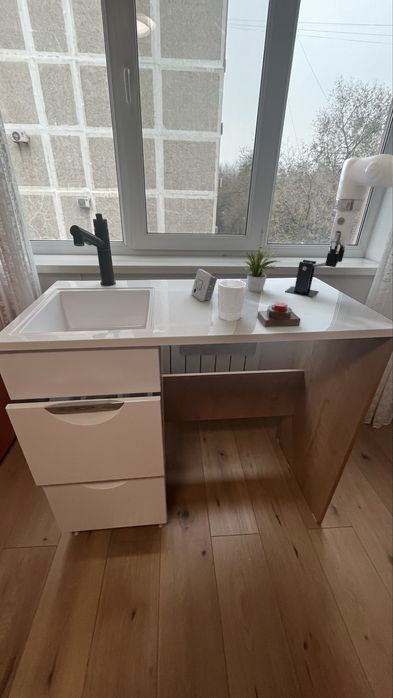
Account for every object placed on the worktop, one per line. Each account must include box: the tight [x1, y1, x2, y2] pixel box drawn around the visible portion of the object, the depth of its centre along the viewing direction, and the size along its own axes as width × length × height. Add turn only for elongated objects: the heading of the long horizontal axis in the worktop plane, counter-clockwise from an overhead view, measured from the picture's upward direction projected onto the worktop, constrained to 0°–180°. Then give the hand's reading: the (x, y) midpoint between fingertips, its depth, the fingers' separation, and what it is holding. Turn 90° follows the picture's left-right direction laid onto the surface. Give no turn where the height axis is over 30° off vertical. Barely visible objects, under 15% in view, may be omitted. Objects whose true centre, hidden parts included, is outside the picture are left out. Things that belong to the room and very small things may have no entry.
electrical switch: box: [191, 268, 218, 303], centre depth 98 cm, size 9×5×9 cm, turn 22°
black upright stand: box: [284, 259, 319, 298], centre depth 102 cm, size 10×8×12 cm
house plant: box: [243, 245, 281, 292], centre depth 102 cm, size 14×14×16 cm
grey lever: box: [310, 260, 339, 268], centre depth 98 cm, size 11×5×2 cm, turn 56°
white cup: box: [217, 279, 247, 322], centre depth 82 cm, size 8×8×10 cm
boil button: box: [273, 301, 288, 312], centre depth 80 cm, size 4×4×2 cm
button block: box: [256, 304, 301, 328], centre depth 81 cm, size 10×7×4 cm
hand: (333, 263), depth 95 cm, fingers open, 9 cm apart
